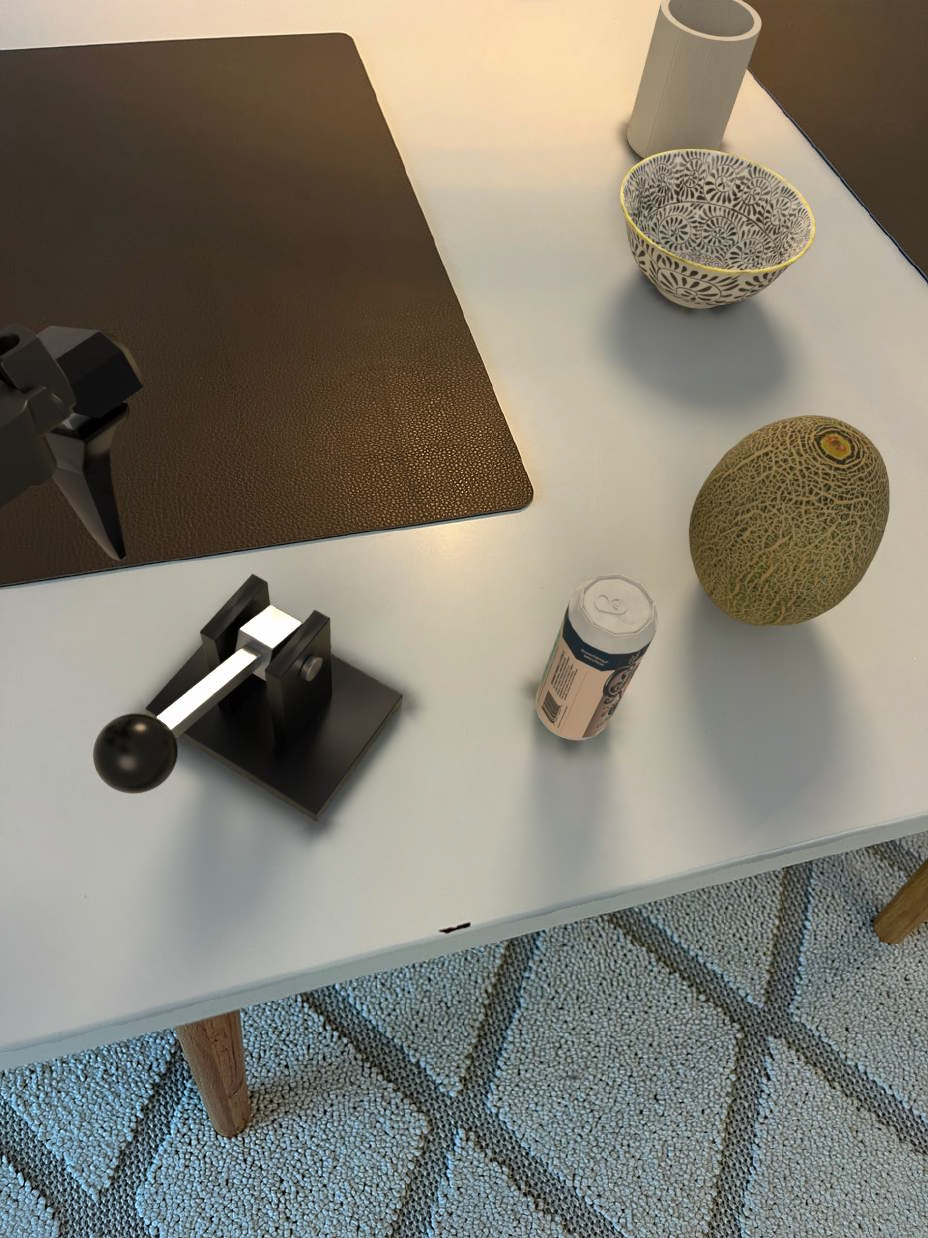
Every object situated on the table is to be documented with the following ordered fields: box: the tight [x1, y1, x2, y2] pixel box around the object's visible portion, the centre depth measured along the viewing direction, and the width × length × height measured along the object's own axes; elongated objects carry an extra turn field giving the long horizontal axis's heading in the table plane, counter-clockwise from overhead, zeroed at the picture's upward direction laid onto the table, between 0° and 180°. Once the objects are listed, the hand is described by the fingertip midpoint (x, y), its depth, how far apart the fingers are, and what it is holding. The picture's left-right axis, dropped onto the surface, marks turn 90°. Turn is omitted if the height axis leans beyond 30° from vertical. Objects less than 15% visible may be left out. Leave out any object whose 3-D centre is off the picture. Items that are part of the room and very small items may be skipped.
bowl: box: [619, 149, 816, 310], centre depth 79 cm, size 16×16×8 cm
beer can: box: [534, 572, 659, 741], centre depth 54 cm, size 5×5×12 cm
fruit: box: [688, 414, 891, 627], centre depth 59 cm, size 11×11×15 cm
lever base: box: [144, 573, 403, 823], centre depth 53 cm, size 9×12×10 cm
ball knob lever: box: [92, 604, 304, 795], centre depth 46 cm, size 13×4×4 cm, turn 150°
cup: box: [626, 0, 763, 160], centre depth 89 cm, size 9×9×12 cm
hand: (44, 618), depth 44 cm, fingers open, 9 cm apart
